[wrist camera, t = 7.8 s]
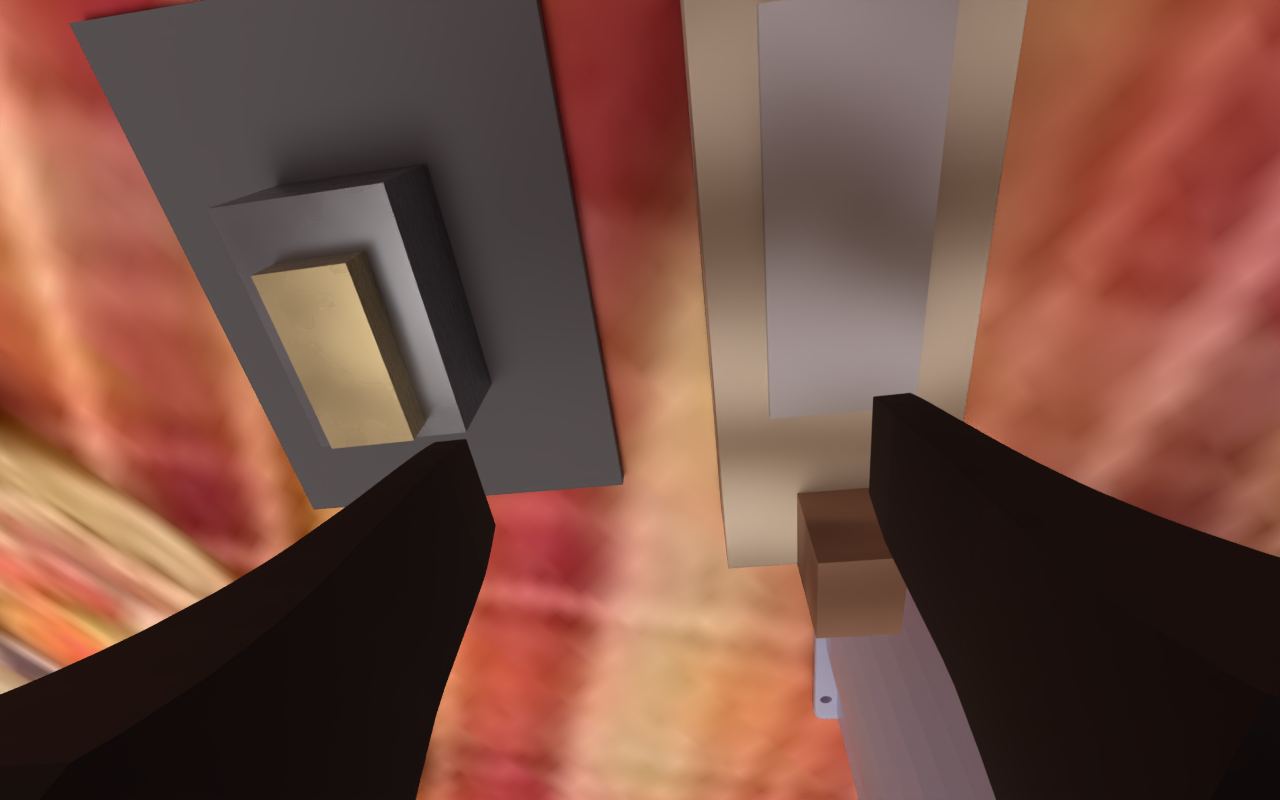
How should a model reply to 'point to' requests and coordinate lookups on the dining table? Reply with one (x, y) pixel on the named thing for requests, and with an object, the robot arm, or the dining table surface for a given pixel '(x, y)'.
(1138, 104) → the dining table surface
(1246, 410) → the dining table surface
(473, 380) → the lever cap
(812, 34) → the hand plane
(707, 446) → the dining table surface
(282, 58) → the rubber mat
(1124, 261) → the dining table surface
